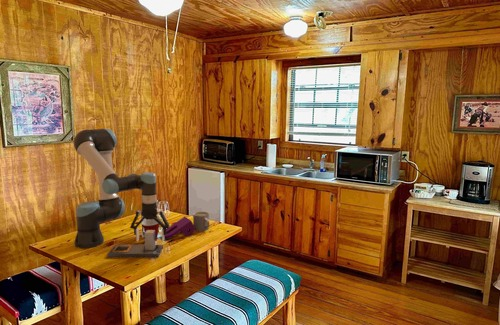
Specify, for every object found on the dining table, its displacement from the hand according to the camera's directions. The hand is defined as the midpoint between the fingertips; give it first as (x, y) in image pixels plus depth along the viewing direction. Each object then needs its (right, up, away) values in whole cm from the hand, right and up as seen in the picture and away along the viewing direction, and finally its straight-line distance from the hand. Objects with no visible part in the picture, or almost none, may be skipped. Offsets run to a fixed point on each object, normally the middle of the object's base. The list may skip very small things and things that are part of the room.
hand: (150, 240), depth 184 cm
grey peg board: (-8, -7, +1) cm, 10 cm away
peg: (0, -7, +1) cm, 7 cm away
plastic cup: (-5, -4, +18) cm, 19 cm away
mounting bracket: (+9, -3, +27) cm, 29 cm away
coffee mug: (+22, -2, +38) cm, 44 cm away
